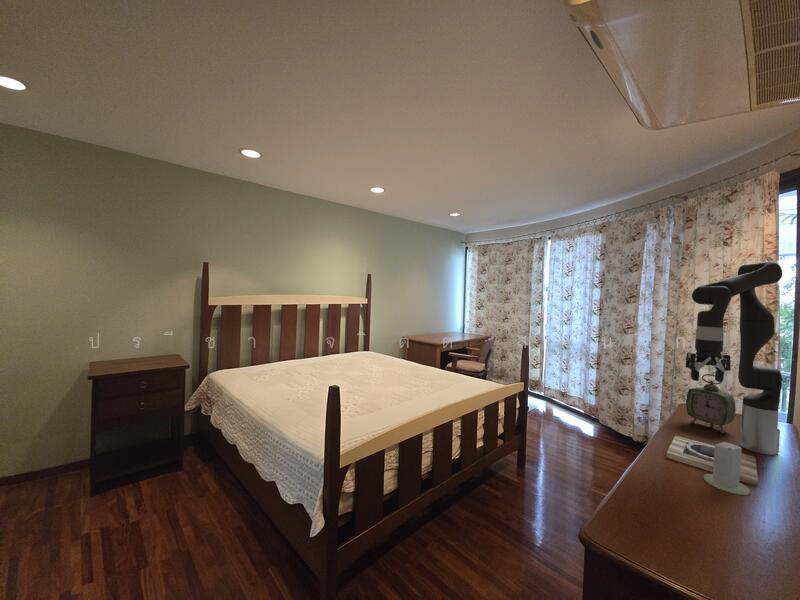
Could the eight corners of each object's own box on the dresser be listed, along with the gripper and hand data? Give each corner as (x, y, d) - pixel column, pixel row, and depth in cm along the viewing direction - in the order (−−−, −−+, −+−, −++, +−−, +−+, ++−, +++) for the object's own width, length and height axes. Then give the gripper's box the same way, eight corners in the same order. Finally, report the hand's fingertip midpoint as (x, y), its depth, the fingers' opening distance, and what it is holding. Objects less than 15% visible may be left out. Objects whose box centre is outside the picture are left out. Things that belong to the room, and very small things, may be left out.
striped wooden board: (674, 440, 128) (675, 435, 128) (755, 462, 112) (755, 457, 112) (666, 457, 114) (666, 452, 114) (757, 486, 97) (757, 479, 97)
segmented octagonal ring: (712, 452, 119) (712, 444, 119) (748, 471, 106) (748, 462, 106) (677, 450, 120) (677, 442, 120) (708, 468, 107) (709, 460, 107)
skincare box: (721, 477, 101) (723, 440, 100) (740, 485, 96) (742, 447, 96) (711, 481, 98) (713, 443, 98) (730, 489, 94) (732, 450, 94)
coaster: (726, 476, 102) (726, 474, 102) (760, 496, 92) (760, 494, 92) (694, 474, 103) (695, 473, 103) (725, 494, 93) (725, 492, 93)
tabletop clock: (685, 423, 147) (687, 371, 147) (695, 420, 151) (697, 370, 150) (726, 436, 134) (729, 379, 134) (736, 433, 137) (739, 377, 137)
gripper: (698, 339, 114) (696, 382, 114) (739, 340, 113) (736, 384, 113) (681, 336, 121) (679, 377, 121) (718, 337, 120) (716, 378, 121)
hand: (707, 380), depth 117 cm, fingers open, 8 cm apart
